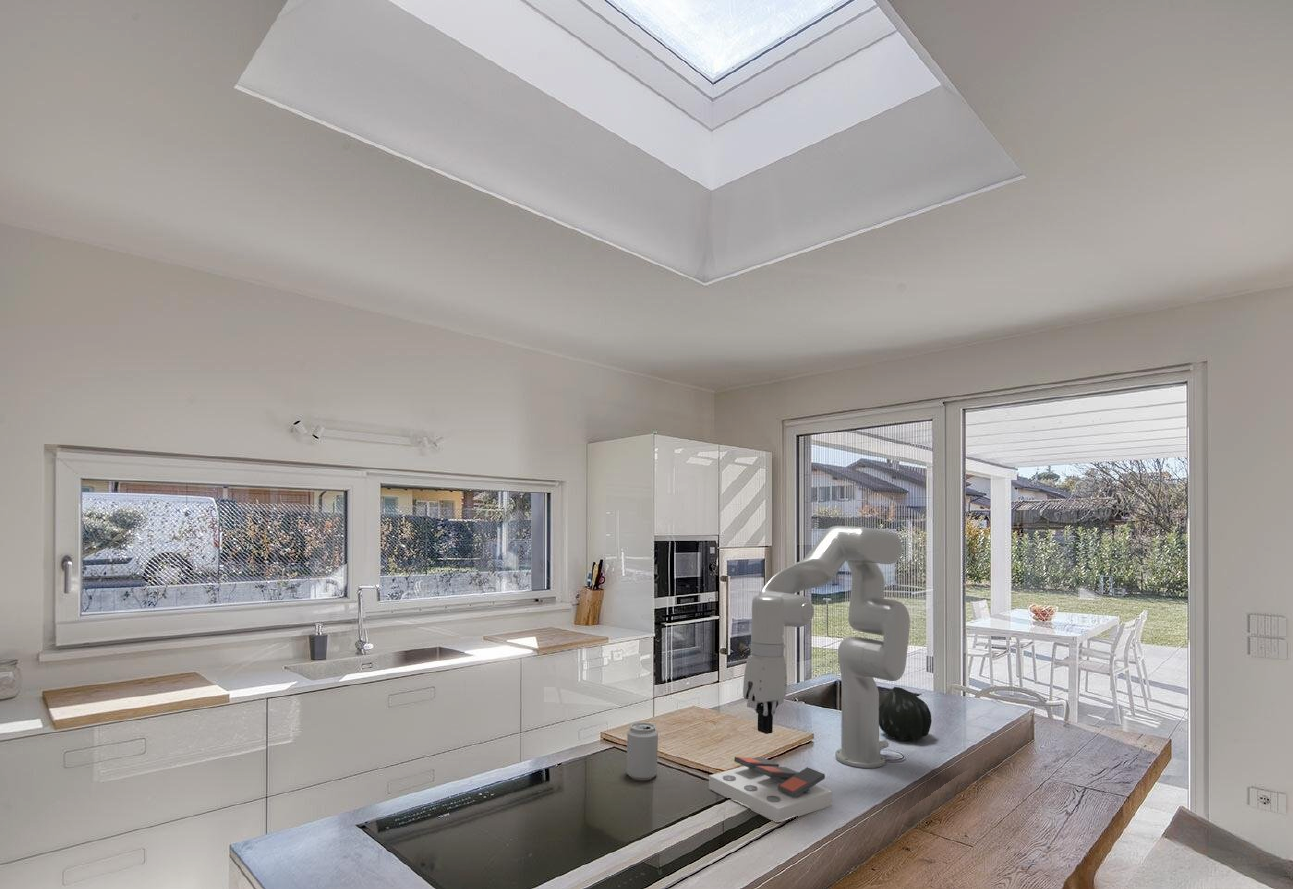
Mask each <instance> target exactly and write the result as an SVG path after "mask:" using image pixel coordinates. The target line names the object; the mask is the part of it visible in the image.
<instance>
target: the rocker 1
mask: <svg viewBox="0 0 1293 889" xmlns="http://www.w3.org/2000/svg"><path fill="white" fill-rule="evenodd" d="M733 762H734V763H737V764H739V765H741V766H746V767H748V768H756V766H771V767H780V764H779V763H777V762H774V761H772V760H769V759H767V758H765V757H747V756H746V757H745V756H735V757H734V761H733Z"/></svg>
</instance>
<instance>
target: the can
mask: <svg viewBox="0 0 1293 889" xmlns="http://www.w3.org/2000/svg"><path fill="white" fill-rule="evenodd" d="M629 726H630V728H628V730H627V734H626V735H627V736H626V738H627V740H626V769H625V770H626V771H625V772H626V774H627V775H628V776H629V777H630V778H631V779H633V780H637V781H649V780H652V779H654V777H655V776H656V775H657V774H658V752H659V751H658V749H659V748H658V747H659V746H658V745H659V732H658V730H657V729H656V725H655V724H653V723H652V722H646V721H645V722H644V721H640V722H633V723H631V724H630V725H629Z"/></svg>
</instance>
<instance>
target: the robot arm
mask: <svg viewBox="0 0 1293 889" xmlns="http://www.w3.org/2000/svg"><path fill="white" fill-rule="evenodd" d="M902 553H903V544H902V541H901V539H900V537H899V535H897V534H896V533H895V532H893V531H888V530H883V529H881V530H880V529H876V528H871V527H865V526H854V525H853V526H850V525H834V526H830V527H828V528H827V529H826V530H825V531H824V532H823V533H822V535H821V536H820V537H819V539H818V540H817V541H816V542H815V544H814V545H813V547H812V548H811V549H810V550H809V552H807V554H806V556H805V557H804V558H803V559H801V560H800V561H798V562H795V563H794V564H791V565H790V566H788V567H786V568H784V569H782V570H780V571H778V572H777V573H775V574H774V575H773V576H772V577H771V578H770V579H769V580H768V581H767V583H766V584H765V585H764V586H763V587H762V589H760V591H759V593H758V595H755V596H754V597H753V598H752V600H751V628H750V632H751V633H750V655H748V656H747V659H746V664H745V668H744V675H743V688H742V695H743V696H742V697H743V699H745V700H747V703H746V705H747V706H746V707H747V708H750V709H754V710H755V713H756V714H757V731H758V732H760V733H763V734H765V735H769V734H773V730H774V729H773V726H774V725H773V724H774V721H773V720H774V716H775V714H776V710H777V707H778V706H779V705H782V704H783V703H784V699H785V698H786V696H787V687H788V681H787V680H788V679H787V678H788V677H787V664H786V657H785V654H784V650H785V648H786V645H785V644H784V643H785V628H786V627H790V628H791V627H792V628H802V627H805V626H807V625H808V624H809V623H810V622H811V621H812V619H813V618H814V613H815V607H814V605H813V603H812V602H811V600H810V599H809V598H807V597H806V596H804V595H800V594H797V593H799V592H802V591H806V590H811V589H816V588H819V587H822V586H826V585H828V584H830V583H831V582H832V581H833V579H834V578H835V576H836V575H837V574H838V572H839V571H840V569H841V568H842V567H843V565H844V564H845V563H846V564H847V565H848V568H849V570H850V573H851V587H850V588H851V589H850V598H849V607H848V617H847V619H848V624H849V626H850V628H852V629H853V630H855V631H857V632H861V633H865V634H870V635H876V636H877V635H878V636H881V637H883V640H878V639H873V638H866V637H862V636H861V637H860V636H849V637H846V638H845V639H843V640H841V642H840V644H839V646H838V648H837V659H838V666H839V670H840V679H841V682H840V683H841V731H840V732H841V736H840V737H841V744H840V746H841V748H839V749H837V750H836V751H835V758H836V760H837V761H839V762H840V763H842V764H844V765H847V766H852V767H854V768H855V767H856V768H863V769H866V768H867V769H874V768H879V767H880V768H881V767H882V766H884V765H885V763H886V757H885V756H884V754H882V753H881V752H882V750H883V749H887V748H888V747H889V744H890V743H889V742H888V740H886V739H884V740H881V741H880V726H879V707H880V693H879V688H878V685H877V684H876V681H875V679H879V680H884V681H889V682H896V681H899V680H900V679H901V678H902V677H903V675H904V674H905V673H904V672H905V671H906V666H907V658H908V650H909V649H908V647H909V637H910V627H911V620H910V619H911V618H910V614H909V610H908V608H907V607H906V606H907V605H905V604H904V603H903V602H900V600H899V601H898V600H895V599H887V598H885V576H884V574H883V571H882V570H881V568H880V566H879V565H878V564H881V565H892V564H895V563H897V562H898V561H899V559H900V558H901V556H902Z"/></svg>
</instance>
